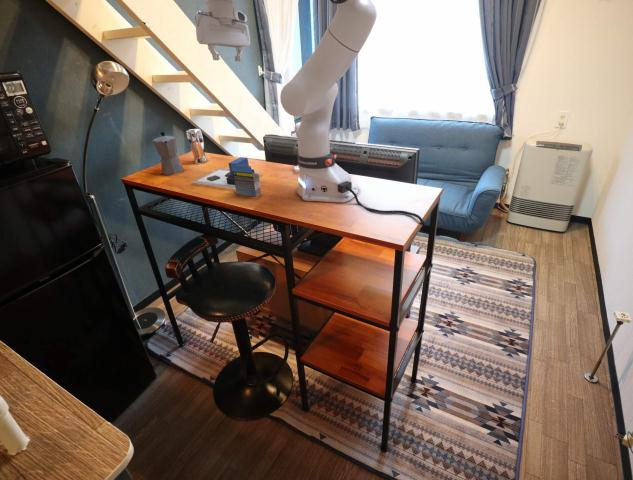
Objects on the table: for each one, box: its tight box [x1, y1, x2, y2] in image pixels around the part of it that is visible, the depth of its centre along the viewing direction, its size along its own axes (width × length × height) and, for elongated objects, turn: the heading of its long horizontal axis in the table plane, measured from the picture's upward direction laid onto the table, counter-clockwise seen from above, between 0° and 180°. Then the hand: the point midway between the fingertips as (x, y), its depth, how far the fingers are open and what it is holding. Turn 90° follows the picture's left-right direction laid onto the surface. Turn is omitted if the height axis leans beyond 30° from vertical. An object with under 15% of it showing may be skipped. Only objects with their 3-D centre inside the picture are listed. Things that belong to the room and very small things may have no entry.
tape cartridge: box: [231, 164, 262, 197], centre depth 124 cm, size 9×4×12 cm, turn 65°
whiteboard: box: [192, 167, 261, 190], centre depth 143 cm, size 22×18×1 cm
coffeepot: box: [152, 131, 184, 176], centre depth 152 cm, size 15×9×18 cm, turn 27°
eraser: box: [226, 156, 255, 185], centre depth 138 cm, size 5×12×8 cm, turn 154°
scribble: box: [207, 175, 220, 181], centre depth 142 cm, size 4×4×1 cm
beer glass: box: [185, 128, 208, 165], centre depth 163 cm, size 7×7×15 cm
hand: (227, 60), depth 120 cm, fingers open, 8 cm apart
